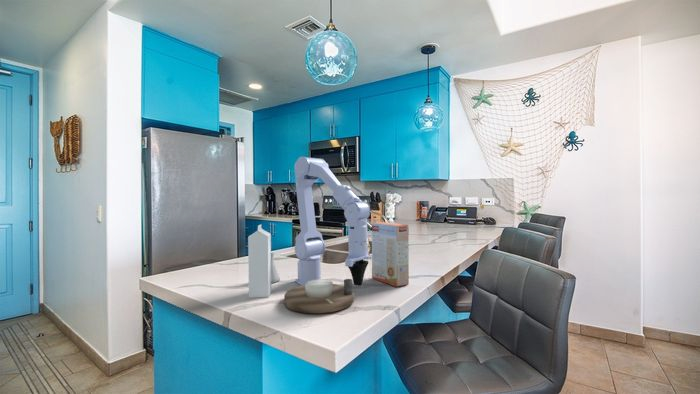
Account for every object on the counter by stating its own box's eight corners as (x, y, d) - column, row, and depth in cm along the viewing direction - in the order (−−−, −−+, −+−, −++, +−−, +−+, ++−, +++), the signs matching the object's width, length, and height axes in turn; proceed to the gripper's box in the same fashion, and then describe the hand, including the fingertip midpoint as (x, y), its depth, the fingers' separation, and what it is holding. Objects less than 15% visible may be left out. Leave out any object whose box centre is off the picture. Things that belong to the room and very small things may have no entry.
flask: (274, 284, 111) (274, 256, 111) (255, 283, 112) (255, 255, 112) (283, 278, 118) (282, 252, 118) (265, 277, 120) (264, 251, 119)
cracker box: (409, 284, 109) (409, 224, 109) (396, 287, 106) (396, 225, 106) (384, 275, 121) (383, 221, 121) (371, 278, 118) (371, 222, 117)
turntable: (276, 295, 97) (276, 276, 97) (336, 286, 106) (336, 268, 106) (296, 318, 79) (296, 294, 79) (365, 305, 88) (365, 283, 88)
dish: (301, 291, 94) (301, 281, 94) (326, 287, 98) (325, 278, 98) (311, 299, 87) (311, 289, 87) (337, 295, 91) (337, 284, 91)
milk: (248, 298, 97) (247, 226, 96) (252, 291, 103) (251, 224, 102) (269, 297, 97) (267, 225, 97) (271, 291, 103) (270, 223, 103)
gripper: (361, 245, 90) (361, 293, 90) (377, 238, 103) (377, 280, 103) (338, 243, 92) (339, 290, 93) (357, 237, 106) (357, 277, 106)
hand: (358, 284), depth 98 cm, fingers closed
